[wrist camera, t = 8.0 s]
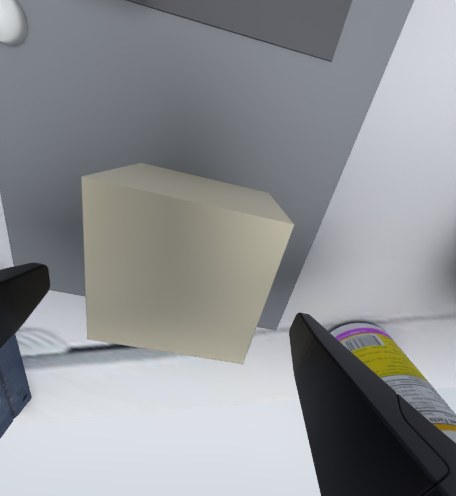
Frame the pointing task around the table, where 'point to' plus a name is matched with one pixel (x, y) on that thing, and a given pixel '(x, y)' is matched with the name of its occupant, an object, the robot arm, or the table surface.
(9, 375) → the vhs cassette tape
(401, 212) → the table surface
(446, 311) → the table surface
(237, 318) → the beige block
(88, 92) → the panel
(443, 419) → the supplement bottle
